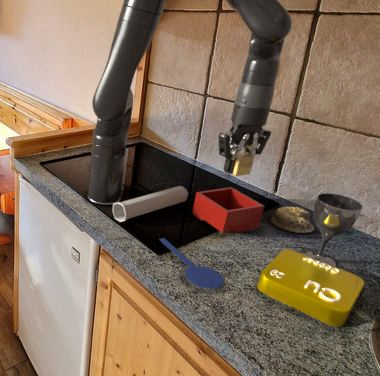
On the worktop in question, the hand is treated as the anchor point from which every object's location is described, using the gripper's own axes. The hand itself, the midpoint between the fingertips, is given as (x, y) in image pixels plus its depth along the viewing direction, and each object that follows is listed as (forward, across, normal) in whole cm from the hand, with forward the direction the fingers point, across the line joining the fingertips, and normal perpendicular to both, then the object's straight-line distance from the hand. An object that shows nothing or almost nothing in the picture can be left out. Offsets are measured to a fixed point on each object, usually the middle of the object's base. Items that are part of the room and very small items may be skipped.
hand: (236, 171), depth 100 cm
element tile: (+15, +4, +28) cm, 32 cm away
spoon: (+15, +21, +12) cm, 28 cm away
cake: (+15, -17, +6) cm, 24 cm away
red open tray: (+15, -1, -1) cm, 15 cm away
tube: (+15, +14, -12) cm, 24 cm away
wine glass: (+15, -9, +20) cm, 27 cm away
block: (0, 0, 0) cm, 0 cm away
